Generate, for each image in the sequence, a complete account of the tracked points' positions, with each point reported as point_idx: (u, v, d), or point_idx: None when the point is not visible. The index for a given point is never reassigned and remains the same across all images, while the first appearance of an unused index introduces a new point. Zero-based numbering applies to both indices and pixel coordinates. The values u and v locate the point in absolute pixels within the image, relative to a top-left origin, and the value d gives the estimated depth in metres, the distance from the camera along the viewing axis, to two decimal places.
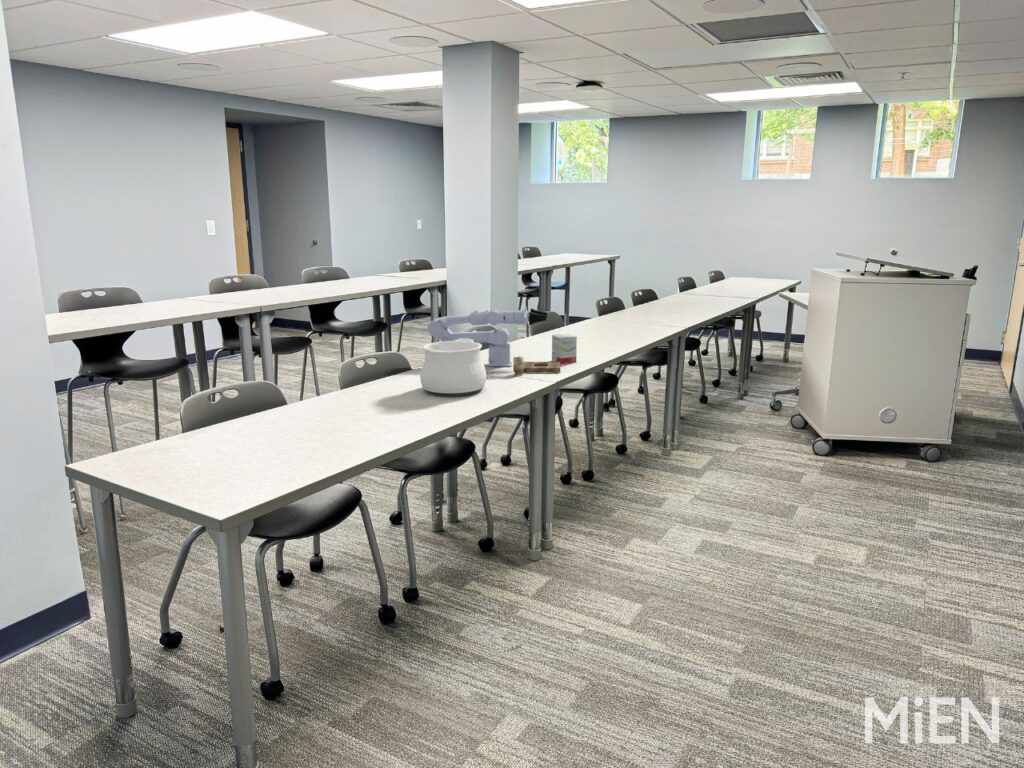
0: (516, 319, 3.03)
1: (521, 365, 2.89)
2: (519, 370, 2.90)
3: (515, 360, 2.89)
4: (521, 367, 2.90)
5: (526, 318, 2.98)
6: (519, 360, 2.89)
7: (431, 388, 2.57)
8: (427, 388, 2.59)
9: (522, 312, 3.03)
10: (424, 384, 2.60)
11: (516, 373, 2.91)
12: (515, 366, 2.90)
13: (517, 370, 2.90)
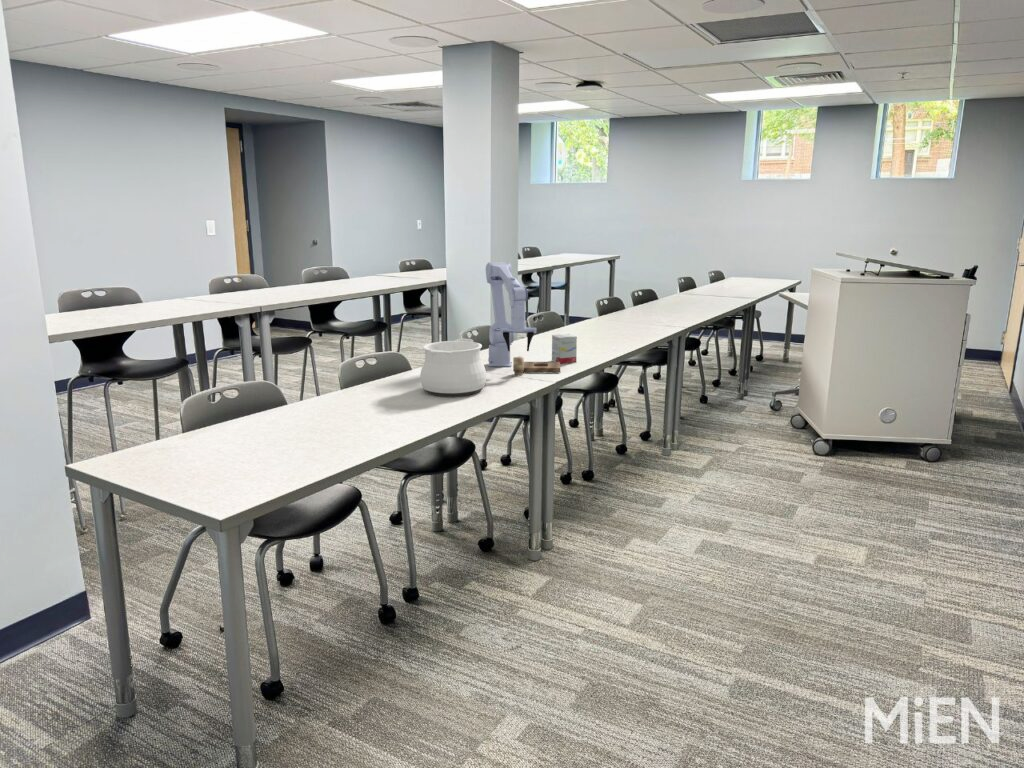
0: None
1: (521, 365, 2.89)
2: (519, 370, 2.90)
3: (515, 360, 2.89)
4: (521, 367, 2.90)
5: (500, 331, 2.88)
6: (519, 360, 2.89)
7: (431, 388, 2.57)
8: (427, 388, 2.59)
9: (513, 326, 2.85)
10: (424, 384, 2.60)
11: (516, 373, 2.91)
12: (515, 366, 2.90)
13: (517, 370, 2.90)
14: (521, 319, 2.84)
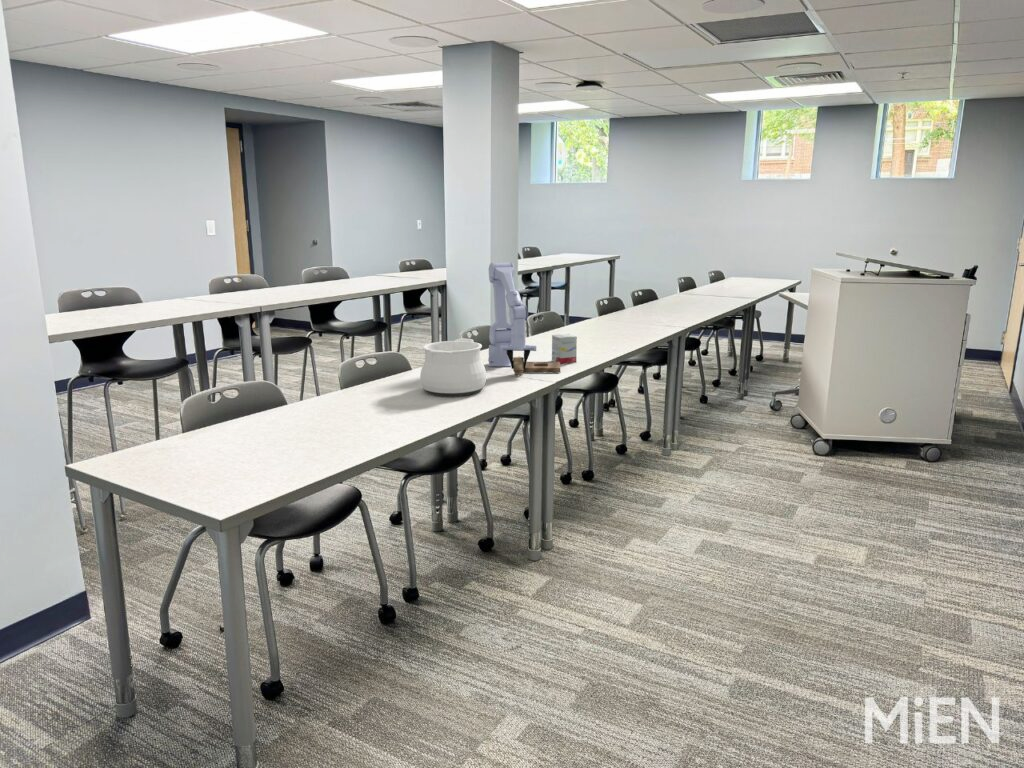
0: None
1: (521, 365, 2.89)
2: (519, 370, 2.90)
3: (515, 360, 2.89)
4: (521, 367, 2.90)
5: (500, 348, 2.90)
6: (519, 360, 2.89)
7: (431, 388, 2.57)
8: (427, 388, 2.59)
9: (513, 344, 2.87)
10: (424, 384, 2.60)
11: (516, 373, 2.91)
12: (515, 366, 2.90)
13: (517, 370, 2.90)
14: (521, 337, 2.86)
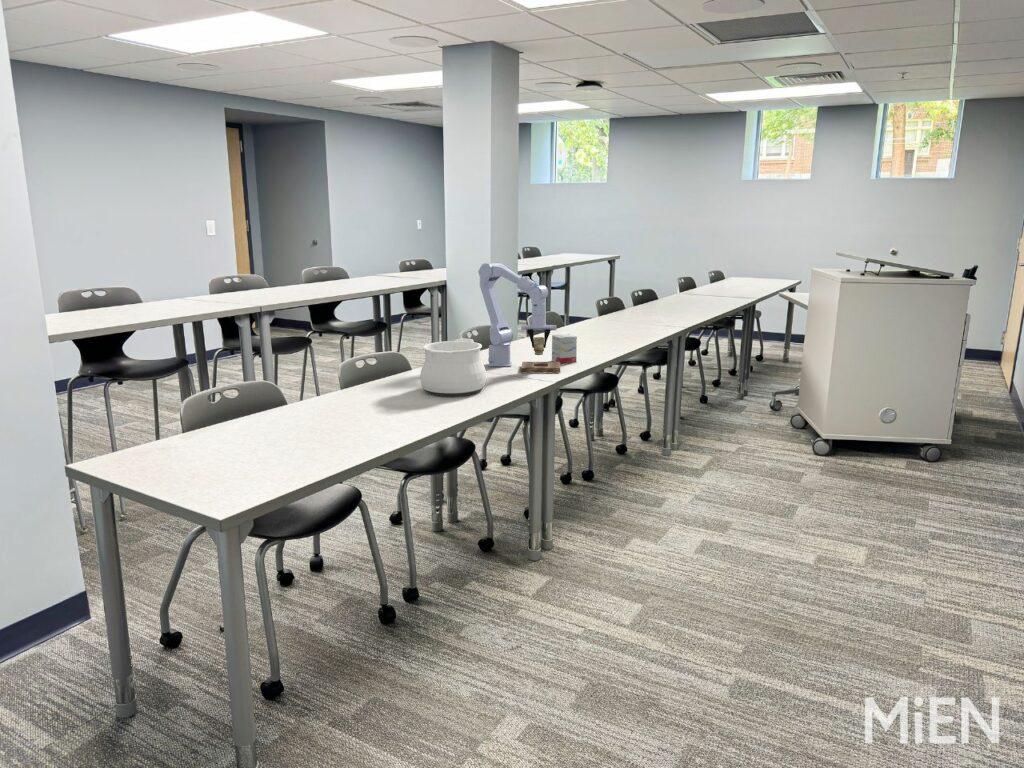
0: None
1: (541, 345, 2.96)
2: (539, 350, 2.96)
3: (535, 340, 2.96)
4: (540, 347, 2.96)
5: (521, 328, 2.96)
6: (539, 340, 2.95)
7: (431, 388, 2.57)
8: (427, 388, 2.59)
9: (534, 324, 2.94)
10: (424, 384, 2.60)
11: (536, 353, 2.97)
12: (535, 346, 2.96)
13: (537, 350, 2.96)
14: (542, 317, 2.93)
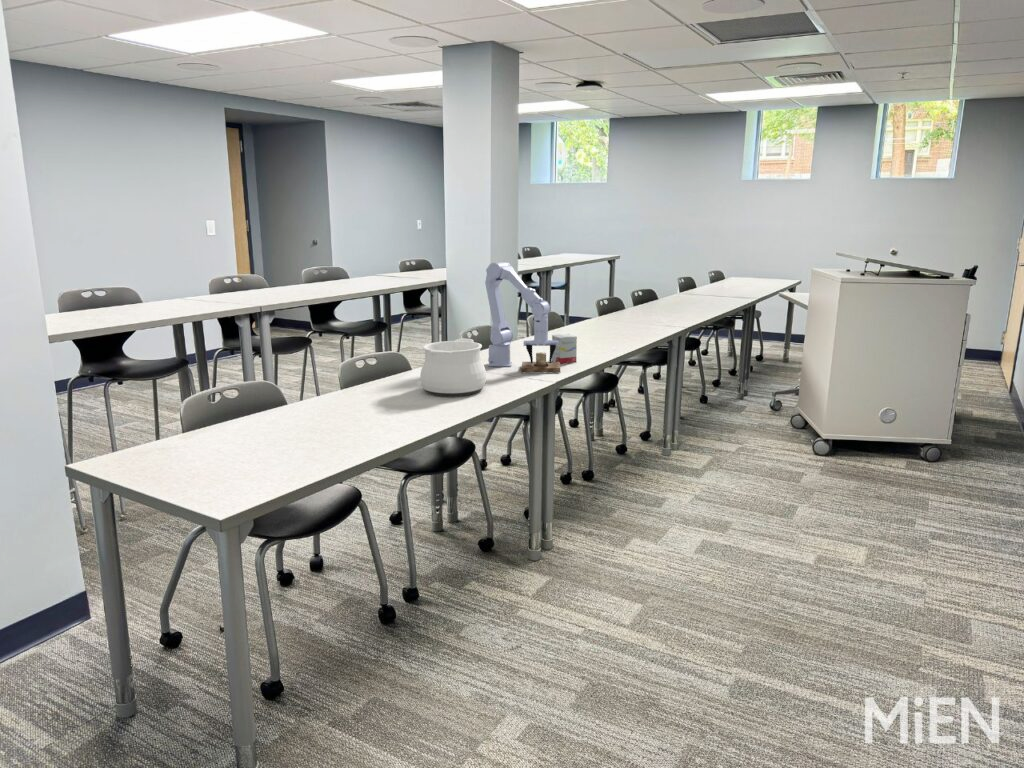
0: None
1: (543, 360, 2.98)
2: (541, 365, 2.98)
3: (537, 355, 2.98)
4: (543, 363, 2.98)
5: None
6: (541, 355, 2.97)
7: (431, 388, 2.57)
8: (427, 388, 2.59)
9: (536, 339, 2.96)
10: (424, 384, 2.60)
11: None
12: (537, 361, 2.99)
13: (539, 365, 2.99)
14: (544, 332, 2.95)
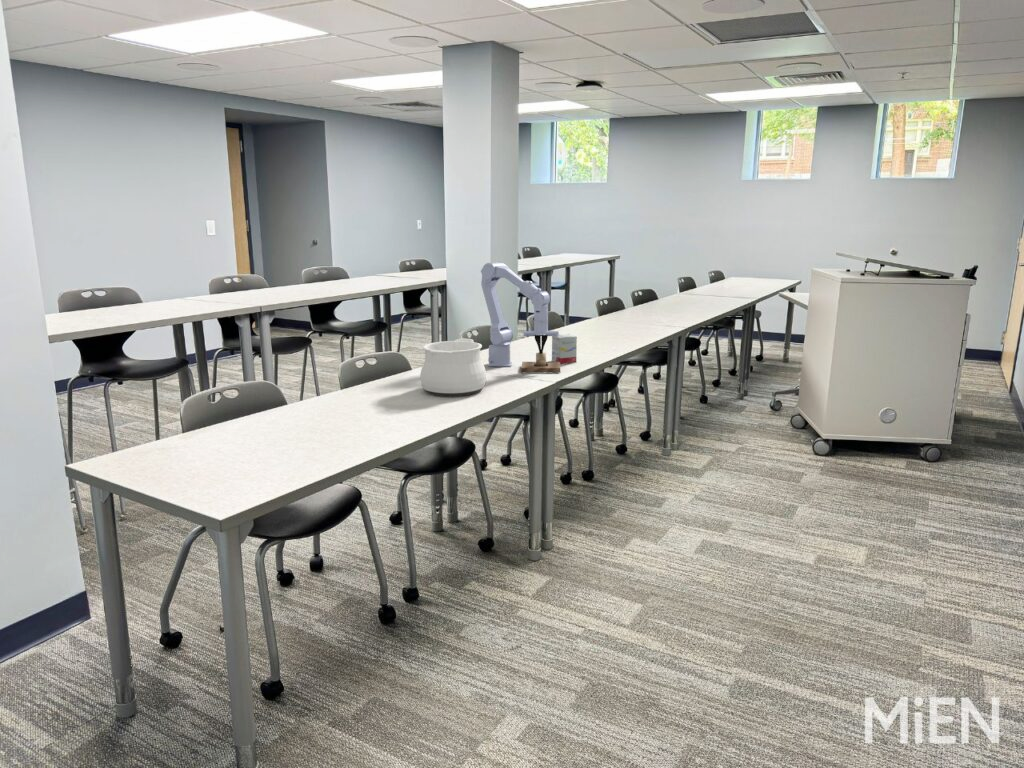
0: None
1: (543, 360, 2.98)
2: (541, 365, 2.98)
3: (537, 355, 2.98)
4: (543, 363, 2.98)
5: None
6: (541, 355, 2.97)
7: (431, 389, 2.57)
8: (427, 388, 2.59)
9: (536, 330, 2.95)
10: (424, 384, 2.60)
11: None
12: (537, 361, 2.99)
13: (539, 365, 2.99)
14: (544, 323, 2.94)
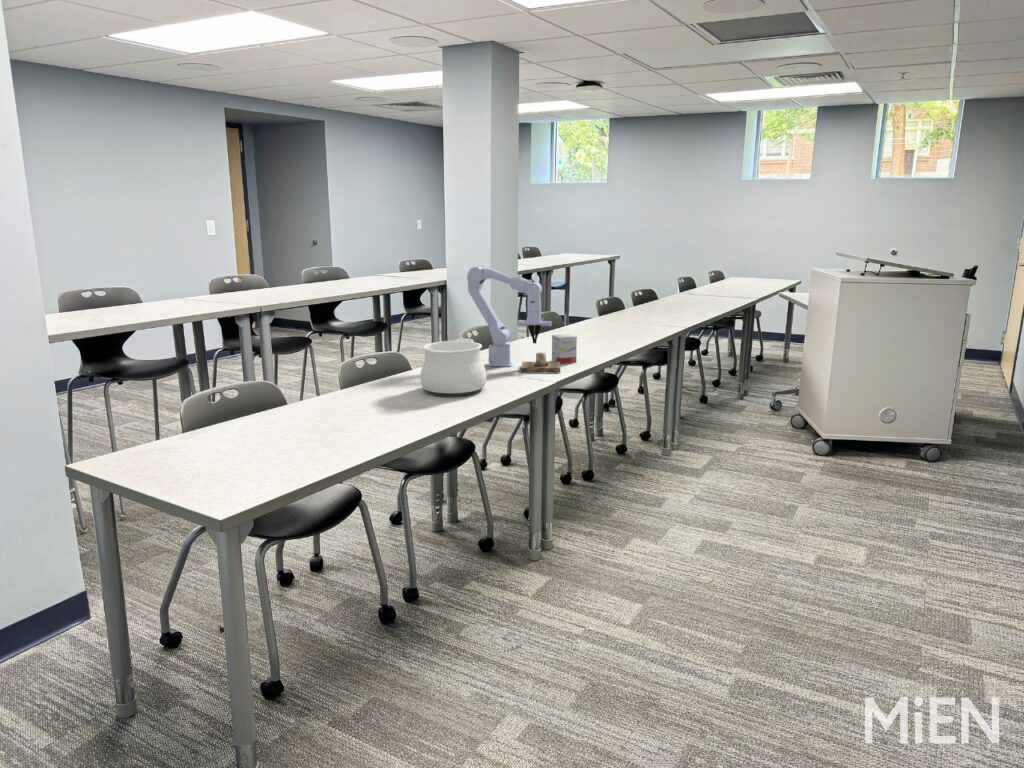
0: None
1: (543, 360, 2.98)
2: (541, 365, 2.98)
3: (537, 355, 2.98)
4: (543, 363, 2.98)
5: (517, 324, 3.03)
6: (541, 355, 2.97)
7: (431, 389, 2.57)
8: (427, 388, 2.59)
9: (530, 320, 3.01)
10: (424, 384, 2.60)
11: None
12: (537, 361, 2.99)
13: (539, 365, 2.99)
14: (537, 313, 2.99)
